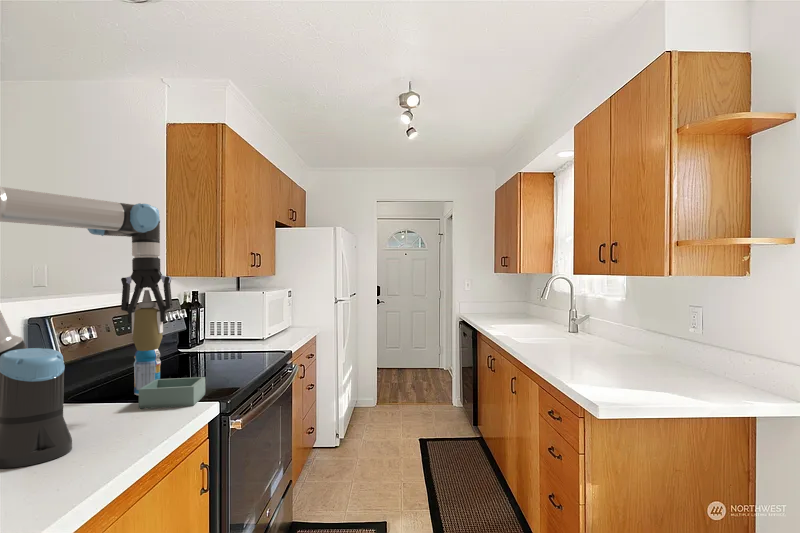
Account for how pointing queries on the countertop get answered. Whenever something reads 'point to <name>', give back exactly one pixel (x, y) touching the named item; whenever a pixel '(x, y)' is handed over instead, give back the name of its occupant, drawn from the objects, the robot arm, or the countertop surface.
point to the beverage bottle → (146, 368)
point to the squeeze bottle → (146, 325)
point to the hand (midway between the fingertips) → (147, 333)
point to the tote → (172, 392)
